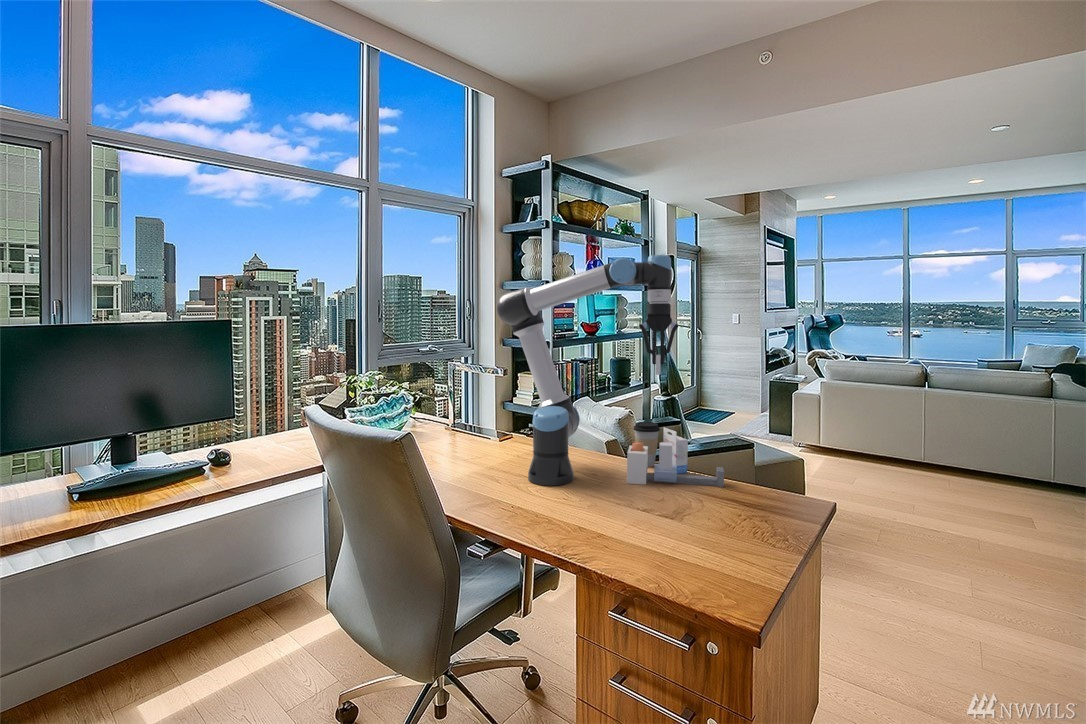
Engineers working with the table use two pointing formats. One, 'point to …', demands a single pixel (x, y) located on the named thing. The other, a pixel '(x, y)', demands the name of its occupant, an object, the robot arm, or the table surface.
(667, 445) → the carriage
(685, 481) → the rail
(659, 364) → the robot arm
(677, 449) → the ink box
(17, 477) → the table surface
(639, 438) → the coffee cup
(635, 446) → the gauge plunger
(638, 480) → the cabinet
